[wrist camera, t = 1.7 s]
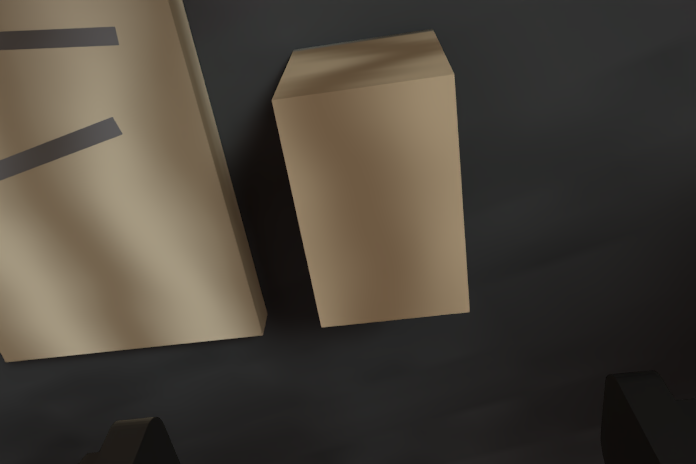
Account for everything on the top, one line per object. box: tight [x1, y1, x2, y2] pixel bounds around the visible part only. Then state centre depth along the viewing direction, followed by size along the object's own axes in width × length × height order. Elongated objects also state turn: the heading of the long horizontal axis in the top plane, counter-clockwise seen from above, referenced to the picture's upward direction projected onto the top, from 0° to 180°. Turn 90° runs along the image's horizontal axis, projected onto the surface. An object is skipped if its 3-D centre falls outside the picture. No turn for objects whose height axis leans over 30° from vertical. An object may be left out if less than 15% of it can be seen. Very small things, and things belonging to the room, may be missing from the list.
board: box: [0, 0, 267, 362], centre depth 21 cm, size 12×25×2 cm, turn 9°
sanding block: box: [272, 29, 470, 327], centre depth 21 cm, size 5×8×6 cm, turn 9°
